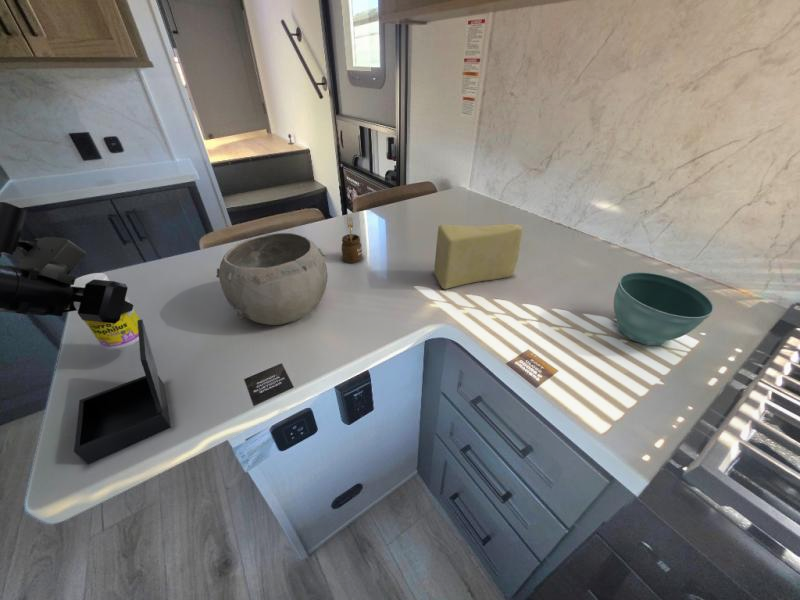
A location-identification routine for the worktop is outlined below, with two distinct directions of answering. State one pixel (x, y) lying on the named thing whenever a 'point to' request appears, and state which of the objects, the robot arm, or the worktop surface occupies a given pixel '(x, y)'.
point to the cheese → (476, 253)
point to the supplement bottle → (111, 333)
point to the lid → (149, 366)
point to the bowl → (274, 278)
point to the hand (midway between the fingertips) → (114, 305)
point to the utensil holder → (351, 246)
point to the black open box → (118, 419)
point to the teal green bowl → (658, 307)
